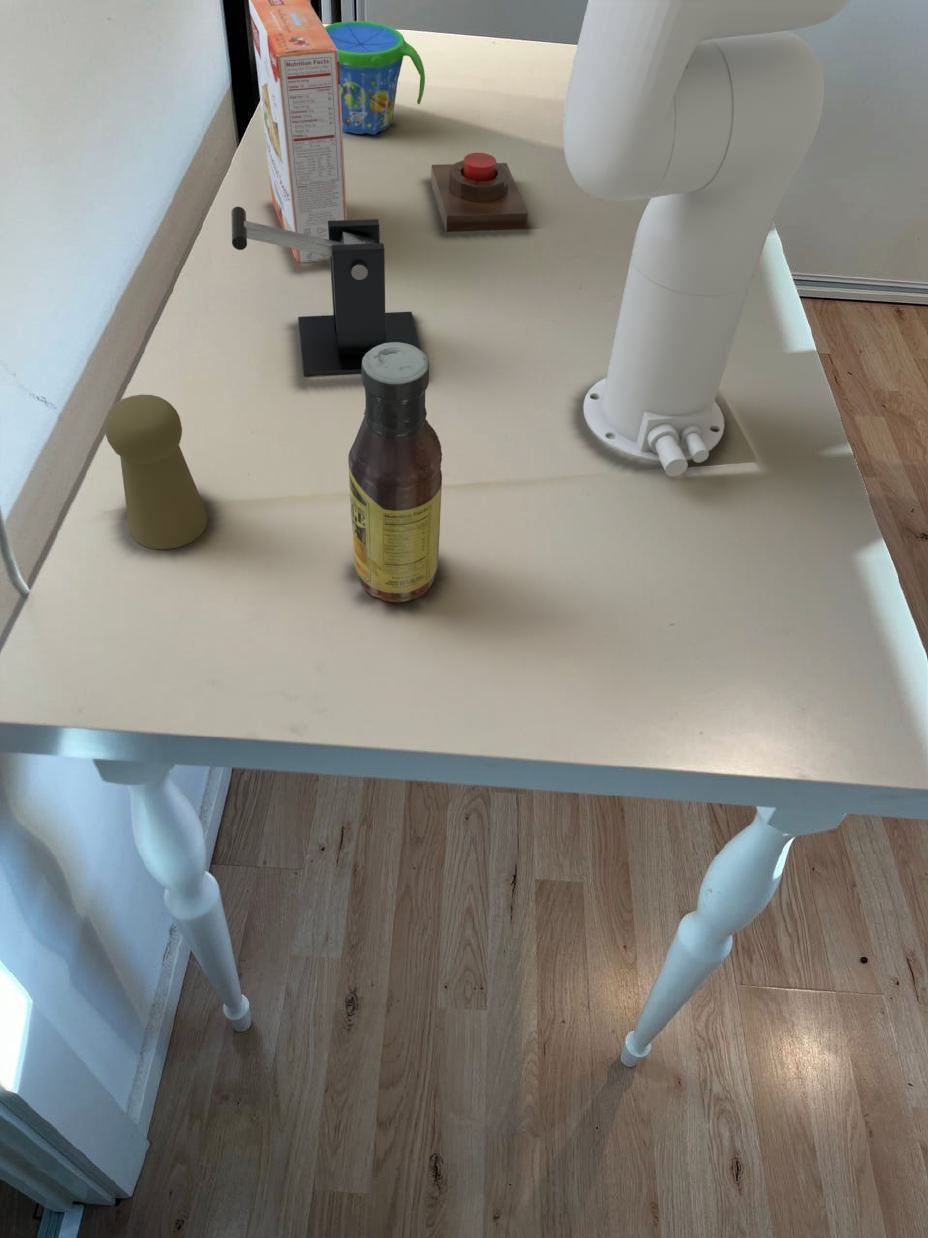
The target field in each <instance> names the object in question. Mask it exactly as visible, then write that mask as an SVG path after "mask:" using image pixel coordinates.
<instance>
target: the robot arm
mask: <svg viewBox="0 0 928 1238" xmlns="http://www.w3.org/2000/svg"><path fill="white" fill-rule="evenodd" d="M850 2H851V0H588V1H587V4H586V8H585V13H584V17H583V21H582V24H581V29H580V33H579V38H578V42H577V45H576V49H575V54H574V58H573V62H572V67H571V71H570V76H569V81H568V84H567V89H566V94H565V100H564V101H565V102H564V109H563V119H562V145H563V153H564V158H565V162H566V166H567V168H568V170H569V173H570V175H571V177H572V179H573V181H574V182H575V184H576V186H578V188H580V189H581V191H583V192H584V193H585V194H587V195H589V196H590V197H592V198H595V199H597V200H600V201H605V202H614V203H615V202H619V203H620V202H630V201H631V202H632V201H639V200H645V199H646V200H647V199H650V200H649V201H648V203H647V205H646V208H645V209H644V211H643V214H642V216H641V217H640V218H641V219H640V221H639V224H638V227H637V229H636V233H635V237H634V242H633V246H632V251H631V256H630V261H629V265H628V271H627V275H626V278H625V279H626V281H625V285H624V290H623V295H622V299H621V303H620V304H621V305H620V310H619V315H618V319H617V324H616V330H615V333H614V334H615V335H614V339H613V344H612V349H611V353H610V358H609V363H608V369H607V373H606V377H603V379H600V380H599V381H598V382H596V383H594V384H593V386H591V388H590V389H589V390H588V391H587V392H586V394H585V397H584V400H583V405H582V411H583V417H584V420H585V422H586V424H587V426H588V427H589V429H590V430H591V432H592V433H593V434H594V435H595V436H596V437H597V438H598V439H599V440H600V441H601V442H603V443H604V444H606V445H607V446H609V448H611V449H613V450H616V451H618V452H619V453H621V454H624V455H626V456H629V457H632V458H635V459H639V460H643V461H649V462H656V463H658V462H659V463H661V466H662V469H663V470H664V472H665V475H666V476H668V477H675V478H676V477H678V476H681V475H682V474H684V473H685V472H687V471H686V470H687V469H688V466H689V465H688V463H689V462H688V461H690V460H692V461H693V462H694V463H698V464H699V463H703V462H704V461H706V460H707V459H708V458H709V456H710V451H712V450H713V449H714V448H716V446H717V445H718V444H719V442H720V441H721V439H722V437H723V434H724V430H725V417H724V414H723V412H722V409H721V408H720V406H719V405H718V403H717V402H716V397H717V395H718V392H719V391H718V390H719V387H720V384H721V381H722V377H723V374H724V373H725V369H726V367H727V366H726V365H727V362H728V359H729V356H730V353H731V349H732V347H733V343H734V340H735V338H736V334H737V331H738V327H739V324H740V321H741V318H742V315H743V312H744V309H745V305H746V302H747V299H748V296H749V293H750V290H751V286H752V283H753V281H754V278H755V275H756V272H757V270H758V265H759V263H760V260H761V256H762V253H763V250H764V248H765V244H766V242H767V239H768V236H769V233H770V231H771V228H772V226H773V223H774V220H775V217H776V215H777V212H778V210H779V209H780V206H781V204H782V201H783V200H784V198H785V195H786V193H787V192H788V189H789V187H790V186H791V184H792V182H793V181H794V179H795V176H796V175H797V173H798V171H799V169H800V167H801V166H802V164H803V162H804V160H805V158H806V156H807V154H808V152H809V150H810V148H811V146H812V143H813V141H814V139H815V136H816V134H817V131H818V127H819V125H820V122H821V117H822V112H823V107H824V102H825V101H824V99H825V82H824V73H823V70H822V67H821V63H820V61H819V59H818V56H817V54H816V53H815V51H814V50H813V48H812V47H811V46H810V45H809V44H808V43H807V42H806V41H805V40H804V39H803V38H802V37H800V36H799V35H797V34H796V33H794V32H791V31H794V30H799V29H800V30H801V29H805V28H808V27H812V26H816V25H820V24H821V23H824V22H826V21H828V20H830V19H832V18H834V17H835V16H836V15H838V14H839V13H840V12H841V11H843V10H844V9H845V8H846V7H847V6H848V5H849V3H850ZM592 397H595V398H597V399H594V398H592ZM712 429H713V430H717V431H713V430H712ZM608 436H609V437H610V436H611V437H613V438H608Z"/></svg>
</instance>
